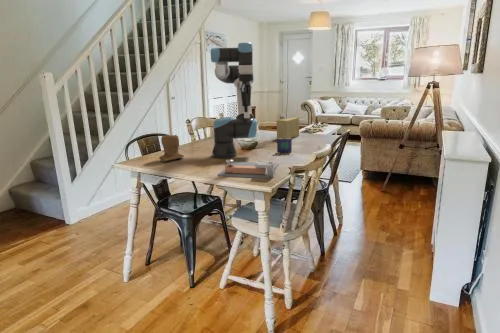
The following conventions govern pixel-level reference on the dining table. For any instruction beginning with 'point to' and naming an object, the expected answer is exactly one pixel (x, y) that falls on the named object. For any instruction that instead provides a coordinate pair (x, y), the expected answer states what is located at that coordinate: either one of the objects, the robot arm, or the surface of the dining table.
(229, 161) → the silver metal knob
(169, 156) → the brown boot
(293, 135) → the cheese
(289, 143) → the dark blue box
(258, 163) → the block
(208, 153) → the dining table surface
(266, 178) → the base board
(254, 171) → the link
